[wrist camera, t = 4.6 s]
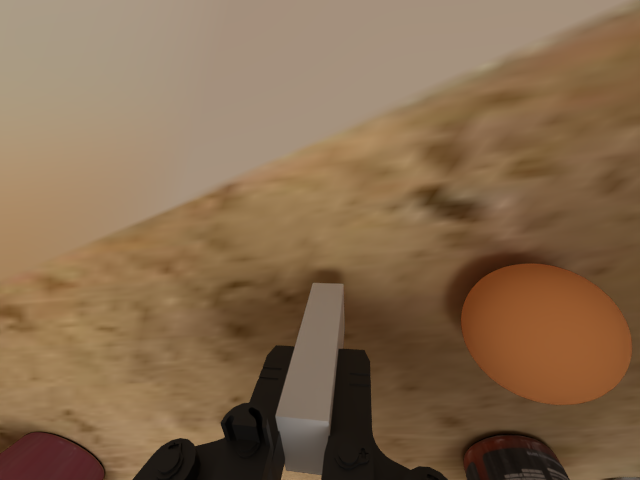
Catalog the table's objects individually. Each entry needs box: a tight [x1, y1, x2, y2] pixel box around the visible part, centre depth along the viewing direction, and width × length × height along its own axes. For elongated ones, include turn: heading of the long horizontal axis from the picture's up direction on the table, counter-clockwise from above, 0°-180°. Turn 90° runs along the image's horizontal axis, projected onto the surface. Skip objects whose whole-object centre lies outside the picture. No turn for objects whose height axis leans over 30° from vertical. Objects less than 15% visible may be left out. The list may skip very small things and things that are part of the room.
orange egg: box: [461, 263, 632, 405], centre depth 12 cm, size 6×6×6 cm
